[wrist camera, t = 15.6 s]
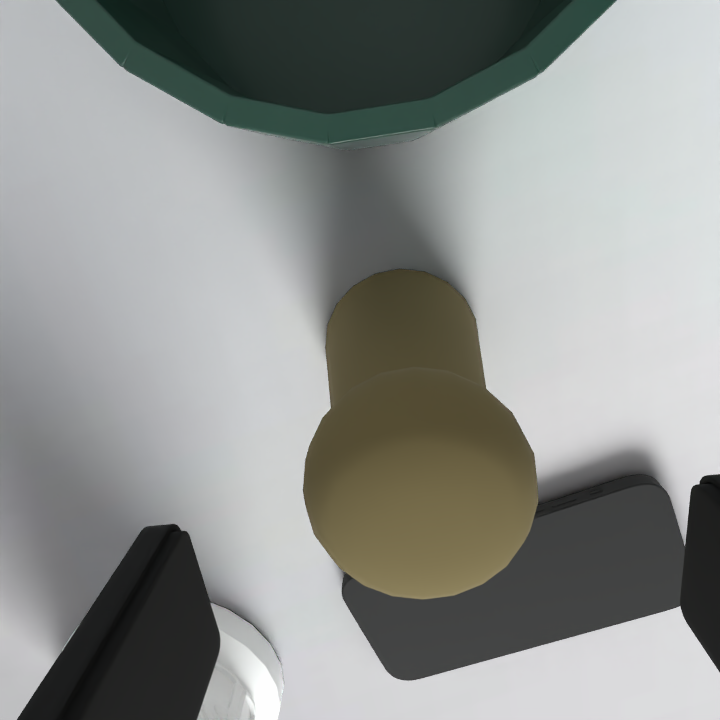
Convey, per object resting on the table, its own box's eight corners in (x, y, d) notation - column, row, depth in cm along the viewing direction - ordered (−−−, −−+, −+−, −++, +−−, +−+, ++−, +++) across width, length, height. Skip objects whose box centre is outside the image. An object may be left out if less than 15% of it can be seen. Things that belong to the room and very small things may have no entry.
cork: (481, 265, 19) (599, 387, 9) (476, 411, 21) (567, 645, 11) (319, 272, 19) (252, 398, 9) (330, 415, 22) (287, 647, 11)
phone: (332, 582, 24) (663, 474, 21) (333, 568, 24) (653, 463, 22) (395, 687, 26) (701, 602, 23) (395, 671, 27) (691, 588, 24)
